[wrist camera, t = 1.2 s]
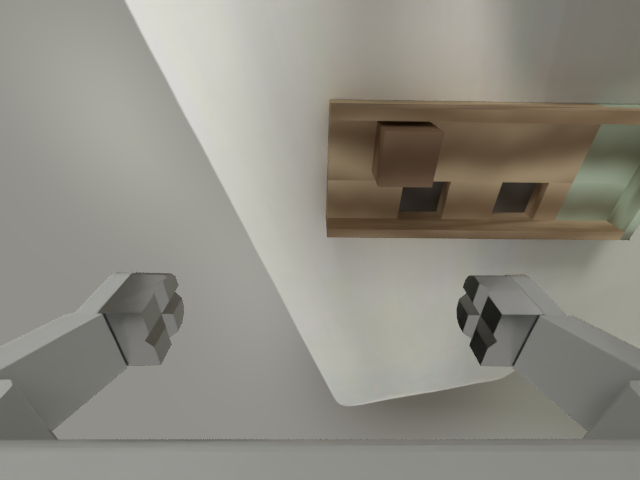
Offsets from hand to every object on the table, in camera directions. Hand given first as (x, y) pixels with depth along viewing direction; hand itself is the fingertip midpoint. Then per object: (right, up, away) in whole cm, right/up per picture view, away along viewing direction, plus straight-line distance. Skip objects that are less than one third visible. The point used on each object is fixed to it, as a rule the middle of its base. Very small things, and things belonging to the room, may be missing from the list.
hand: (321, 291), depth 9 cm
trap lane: (+17, +10, +25) cm, 32 cm away
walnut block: (+8, +11, +22) cm, 25 cm away
